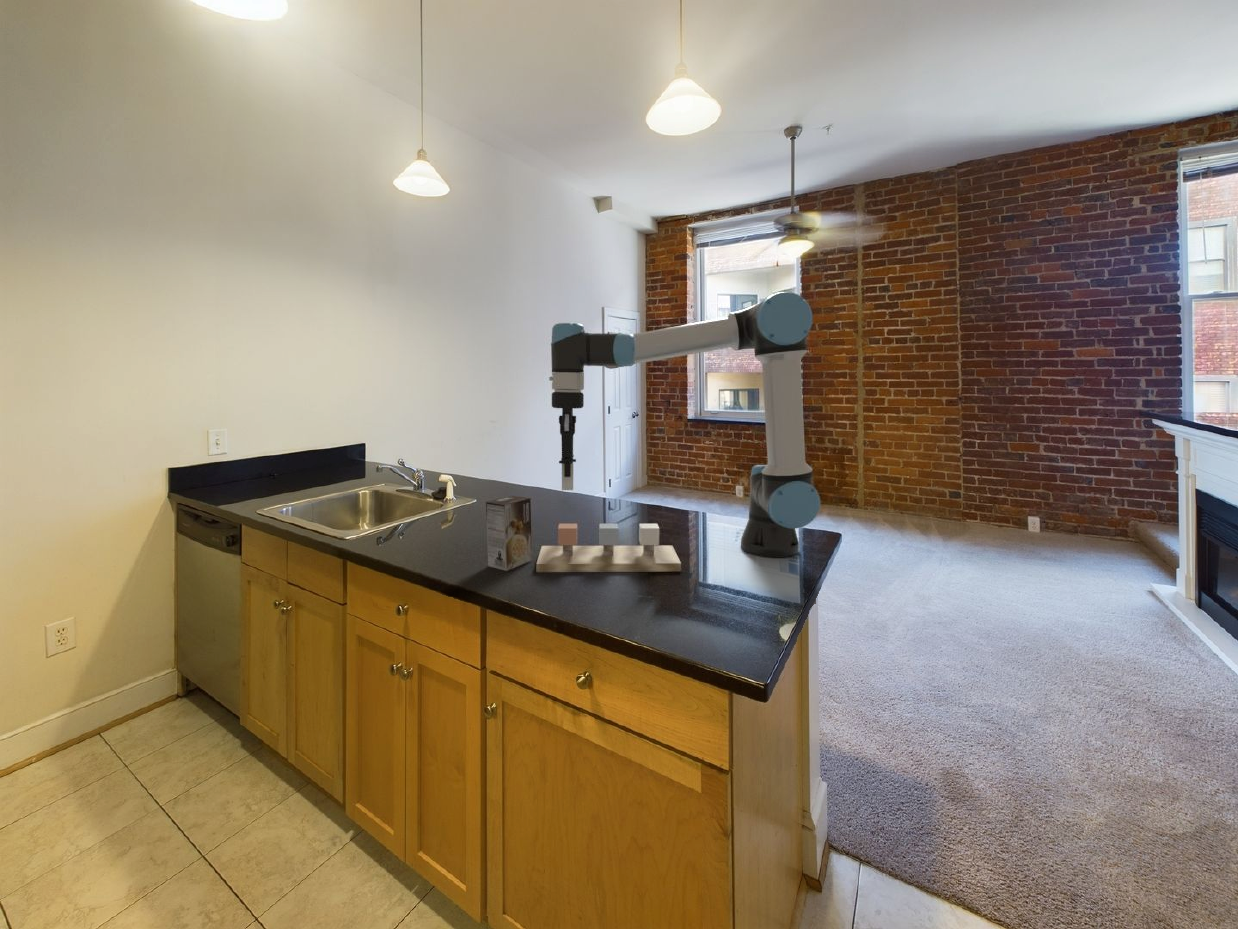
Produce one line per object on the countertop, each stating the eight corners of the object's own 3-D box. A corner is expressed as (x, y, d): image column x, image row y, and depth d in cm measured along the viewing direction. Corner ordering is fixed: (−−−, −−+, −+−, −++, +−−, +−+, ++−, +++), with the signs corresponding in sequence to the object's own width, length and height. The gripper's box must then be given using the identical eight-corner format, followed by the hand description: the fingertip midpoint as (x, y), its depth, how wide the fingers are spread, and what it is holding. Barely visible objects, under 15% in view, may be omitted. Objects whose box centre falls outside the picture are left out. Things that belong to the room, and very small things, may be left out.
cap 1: (577, 539, 134) (577, 523, 133) (576, 545, 129) (576, 528, 128) (559, 539, 133) (559, 523, 133) (558, 545, 129) (558, 528, 128)
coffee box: (513, 556, 136) (512, 494, 133) (532, 561, 132) (531, 497, 130) (486, 566, 128) (485, 501, 126) (506, 571, 125) (505, 504, 122)
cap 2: (656, 539, 135) (657, 523, 134) (658, 545, 130) (659, 528, 130) (638, 539, 134) (639, 523, 134) (640, 545, 130) (640, 528, 129)
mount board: (672, 552, 140) (672, 534, 140) (680, 571, 126) (681, 551, 126) (542, 553, 138) (541, 534, 138) (536, 572, 125) (536, 551, 124)
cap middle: (617, 539, 134) (617, 523, 133) (618, 545, 130) (618, 528, 129) (599, 539, 134) (599, 523, 133) (599, 545, 129) (599, 528, 129)
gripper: (553, 390, 132) (553, 484, 135) (549, 391, 119) (549, 495, 123) (584, 391, 132) (583, 484, 136) (583, 391, 119) (582, 495, 123)
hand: (567, 489), depth 129 cm, fingers closed
